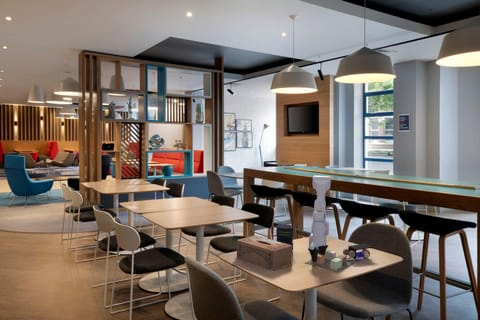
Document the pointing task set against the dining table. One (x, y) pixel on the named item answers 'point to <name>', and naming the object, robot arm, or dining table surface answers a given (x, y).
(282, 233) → the storage jar
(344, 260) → the walnut brick
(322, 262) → the terracotta brick
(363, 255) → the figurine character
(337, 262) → the sage brick
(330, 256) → the pale grey brick
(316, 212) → the robot arm
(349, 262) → the felt mat
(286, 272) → the dining table surface
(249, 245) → the tissue box cover
